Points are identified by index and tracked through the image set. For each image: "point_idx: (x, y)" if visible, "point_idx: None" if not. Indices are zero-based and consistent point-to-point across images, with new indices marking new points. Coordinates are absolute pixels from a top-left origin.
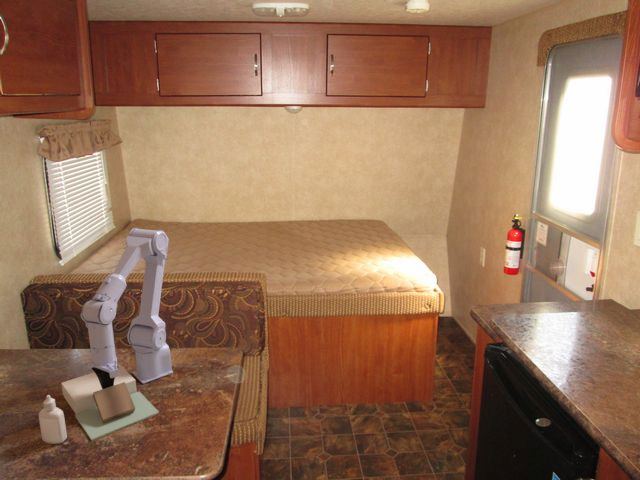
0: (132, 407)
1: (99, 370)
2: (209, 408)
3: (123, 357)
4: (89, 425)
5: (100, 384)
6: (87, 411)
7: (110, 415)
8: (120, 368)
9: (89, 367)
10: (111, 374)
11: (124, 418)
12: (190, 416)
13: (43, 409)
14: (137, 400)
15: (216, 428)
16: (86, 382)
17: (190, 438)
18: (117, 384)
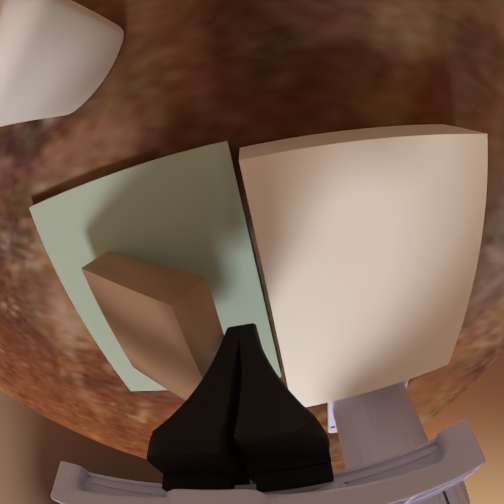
0: (132, 363)
1: (200, 466)
2: (130, 440)
3: (496, 332)
4: (107, 202)
5: (259, 347)
6: (229, 200)
7: (97, 297)
8: (418, 369)
9: (178, 491)
10: (57, 482)
11: None
12: (107, 416)
13: (4, 5)
14: None
15: (65, 422)
16: (422, 247)
17: (37, 389)
18: None
